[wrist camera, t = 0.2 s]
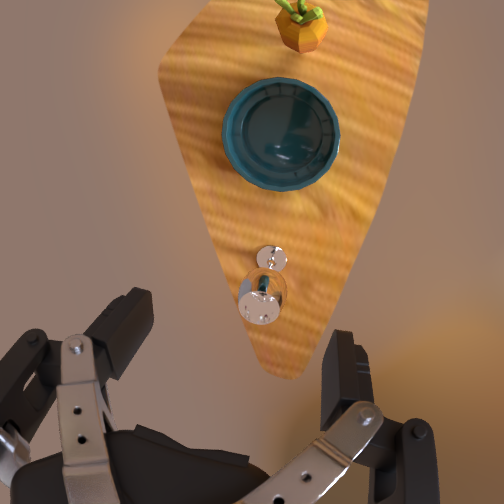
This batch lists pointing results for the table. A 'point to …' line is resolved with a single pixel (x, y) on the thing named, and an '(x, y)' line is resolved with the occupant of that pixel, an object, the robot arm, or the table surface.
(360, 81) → the table surface
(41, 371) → the robot arm
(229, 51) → the table surface
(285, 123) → the bowl
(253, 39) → the table surface
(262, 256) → the wineglass
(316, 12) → the carrot
